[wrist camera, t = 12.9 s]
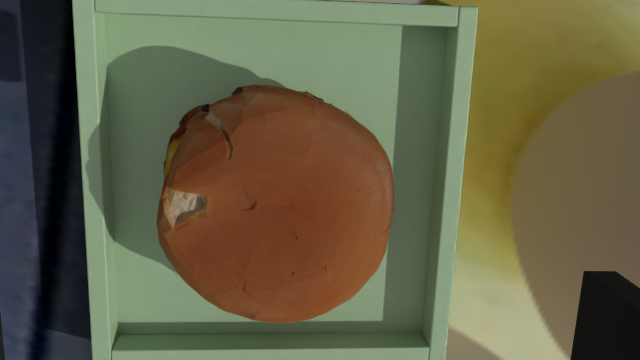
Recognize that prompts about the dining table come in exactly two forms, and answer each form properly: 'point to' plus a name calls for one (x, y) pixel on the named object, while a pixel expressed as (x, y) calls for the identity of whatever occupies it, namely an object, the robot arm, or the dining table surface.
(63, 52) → the dining table surface
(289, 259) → the burger
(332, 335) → the serving tray
